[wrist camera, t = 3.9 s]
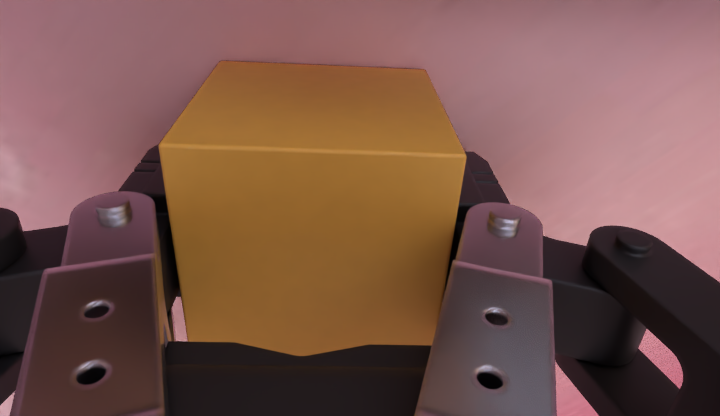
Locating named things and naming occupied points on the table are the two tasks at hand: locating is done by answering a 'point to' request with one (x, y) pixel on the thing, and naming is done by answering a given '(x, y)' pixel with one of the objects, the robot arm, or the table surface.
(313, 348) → the ochre block
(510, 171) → the table surface
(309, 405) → the robot arm
